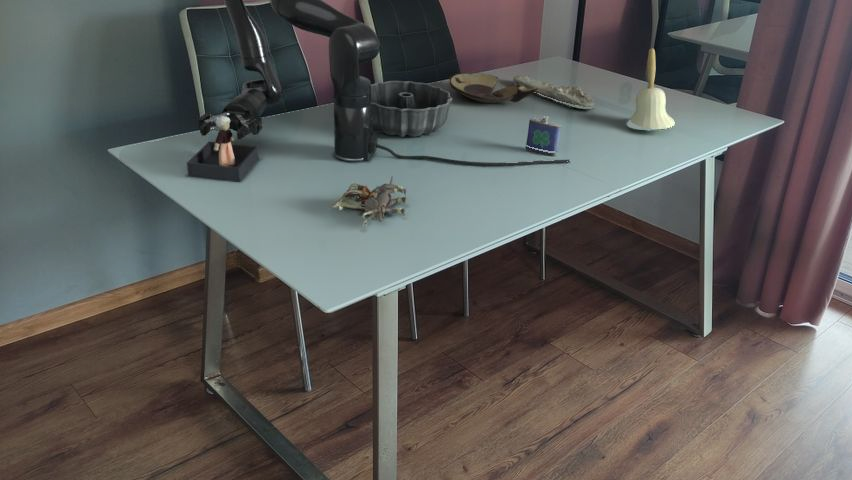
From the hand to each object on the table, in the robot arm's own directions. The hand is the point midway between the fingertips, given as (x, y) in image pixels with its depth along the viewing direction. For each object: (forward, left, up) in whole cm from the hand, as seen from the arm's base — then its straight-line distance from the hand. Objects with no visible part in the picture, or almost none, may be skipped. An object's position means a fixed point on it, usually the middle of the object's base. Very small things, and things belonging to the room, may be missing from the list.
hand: (220, 133), depth 180 cm
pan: (0, -1, -9) cm, 9 cm away
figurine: (-38, +14, -9) cm, 42 cm away
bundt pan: (-38, -42, -9) cm, 57 cm away
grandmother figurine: (-1, -1, -9) cm, 9 cm away
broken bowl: (-61, -75, -9) cm, 97 cm away
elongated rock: (-82, -86, -9) cm, 119 cm away
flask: (-78, -34, -9) cm, 85 cm away
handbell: (-113, -64, -9) cm, 130 cm away
